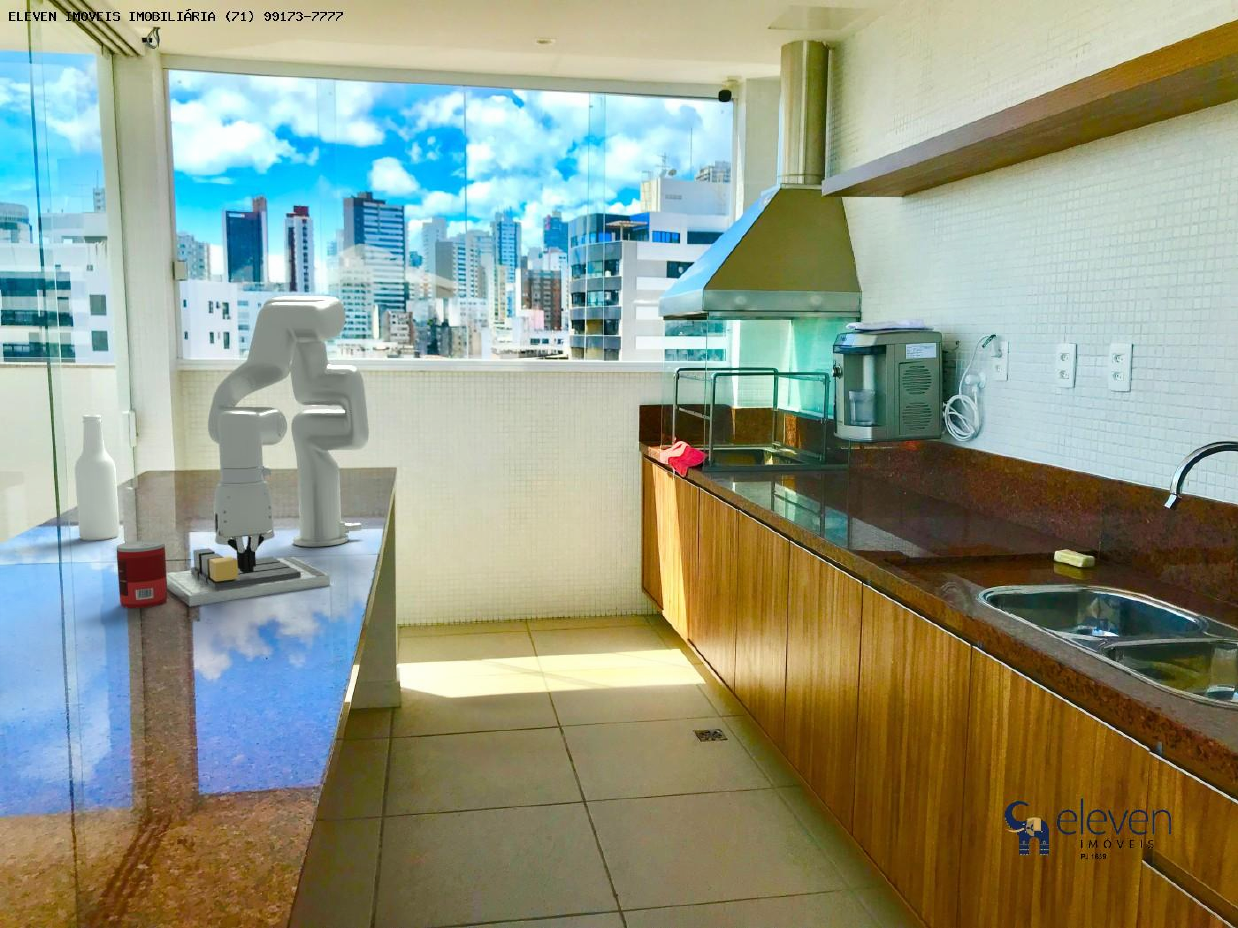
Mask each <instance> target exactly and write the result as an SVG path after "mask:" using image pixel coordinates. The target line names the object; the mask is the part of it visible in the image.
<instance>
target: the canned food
mask: <svg viewBox="0 0 1238 928" xmlns="http://www.w3.org/2000/svg"><path fill="white" fill-rule="evenodd" d="M166 559H167V557H166V545H165V542H164V541H163V540H158V539H157V540H156V539H151V540H150V539H145V540H134V541H133V540H132V541H128V542H127V541H126V542H123V543H120V544H119V545H117V546H116V563H117V564H116V565H117V577H118V591H119V592H118V593H119V603H120V604H121V607H122V608H125V609H143V608H144V609H146V608H152V607H157V606H161V605H163V604H165V603H166V602H167V600H168V588H167V574H166V573H167V560H166Z"/></svg>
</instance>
